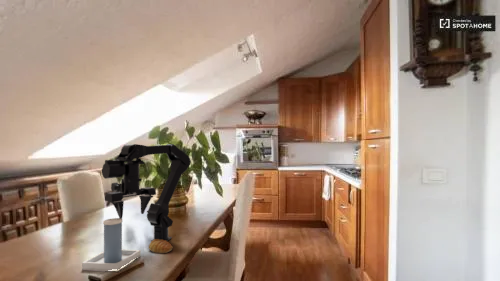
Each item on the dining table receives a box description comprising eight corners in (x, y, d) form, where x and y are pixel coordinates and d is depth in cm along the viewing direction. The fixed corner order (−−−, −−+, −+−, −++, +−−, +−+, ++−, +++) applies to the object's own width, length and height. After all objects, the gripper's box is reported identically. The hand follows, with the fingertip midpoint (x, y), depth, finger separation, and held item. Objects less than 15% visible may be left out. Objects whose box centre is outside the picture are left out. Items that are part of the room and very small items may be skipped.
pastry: (177, 249, 111) (176, 240, 111) (163, 255, 106) (163, 245, 106) (160, 246, 116) (160, 236, 116) (146, 251, 110) (146, 241, 110)
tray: (108, 255, 107) (108, 248, 107) (140, 256, 104) (140, 250, 104) (82, 269, 94) (82, 262, 94) (117, 272, 91) (117, 264, 91)
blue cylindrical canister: (111, 256, 103) (111, 217, 103) (126, 257, 102) (126, 218, 102) (99, 263, 97) (99, 222, 97) (115, 264, 96) (115, 223, 96)
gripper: (140, 173, 125) (140, 209, 125) (97, 177, 110) (97, 218, 109) (156, 174, 118) (156, 212, 118) (112, 178, 103) (113, 222, 103)
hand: (131, 216), depth 112 cm, fingers open, 9 cm apart
